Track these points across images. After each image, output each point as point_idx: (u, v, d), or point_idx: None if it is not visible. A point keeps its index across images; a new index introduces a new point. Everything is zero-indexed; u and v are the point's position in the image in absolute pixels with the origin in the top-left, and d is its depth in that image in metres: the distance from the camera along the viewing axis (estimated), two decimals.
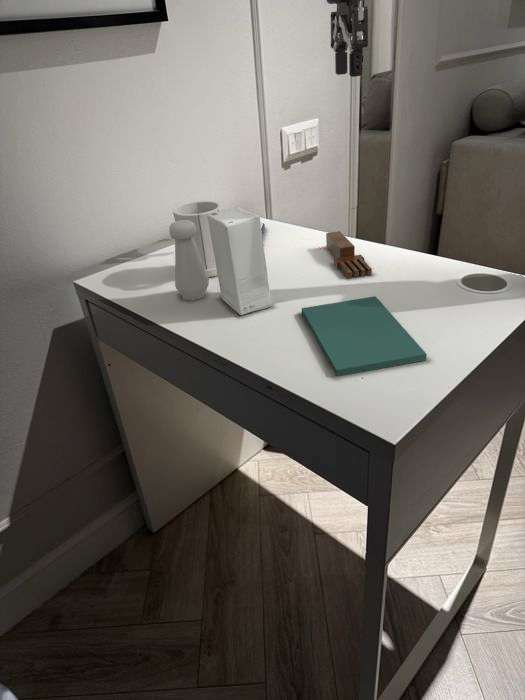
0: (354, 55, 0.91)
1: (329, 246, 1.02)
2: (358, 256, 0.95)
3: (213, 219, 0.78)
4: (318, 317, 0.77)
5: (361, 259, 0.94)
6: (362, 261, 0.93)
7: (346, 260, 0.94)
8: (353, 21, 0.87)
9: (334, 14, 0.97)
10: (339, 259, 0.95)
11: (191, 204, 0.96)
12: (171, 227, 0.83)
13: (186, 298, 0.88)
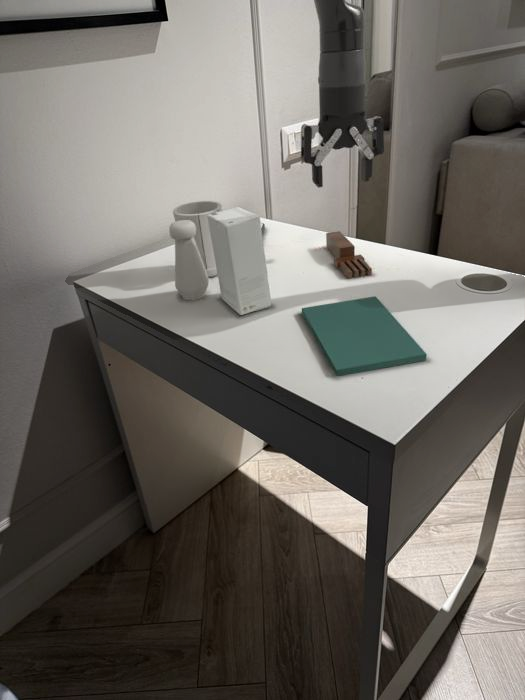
0: (312, 167, 0.91)
1: (329, 246, 1.02)
2: (358, 256, 0.95)
3: (213, 219, 0.78)
4: (318, 317, 0.77)
5: (361, 259, 0.94)
6: (362, 261, 0.93)
7: (346, 260, 0.94)
8: (303, 136, 0.89)
9: None
10: (339, 259, 0.95)
11: (191, 204, 0.96)
12: (171, 227, 0.83)
13: (186, 298, 0.88)
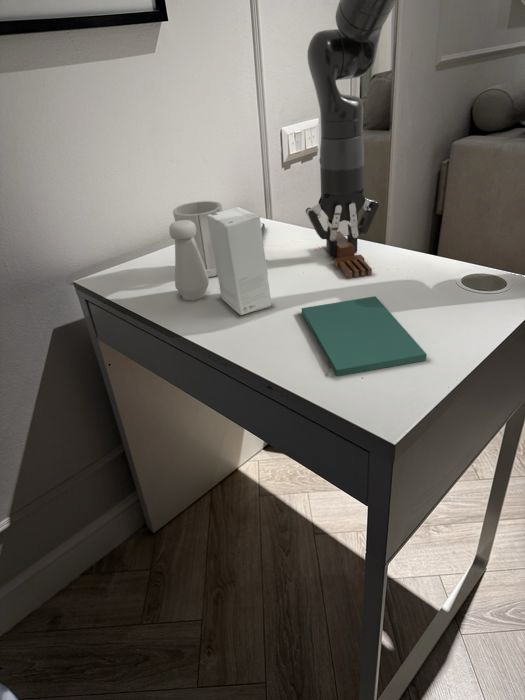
0: (327, 241, 0.97)
1: None
2: (358, 256, 0.95)
3: (213, 219, 0.78)
4: (318, 317, 0.77)
5: (361, 259, 0.94)
6: (362, 261, 0.93)
7: (346, 260, 0.94)
8: None
9: None
10: (339, 259, 0.95)
11: (191, 204, 0.96)
12: (171, 227, 0.83)
13: (186, 298, 0.88)
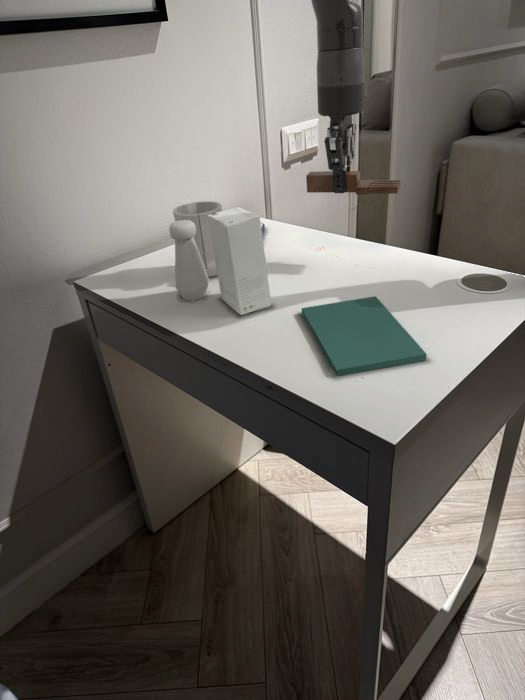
0: (335, 174, 0.88)
1: (318, 186, 0.92)
2: (364, 180, 0.92)
3: (213, 219, 0.78)
4: (318, 317, 0.77)
5: (373, 180, 0.91)
6: (379, 180, 0.91)
7: (367, 184, 0.89)
8: None
9: None
10: (361, 186, 0.89)
11: (191, 204, 0.96)
12: (171, 227, 0.83)
13: (186, 298, 0.88)
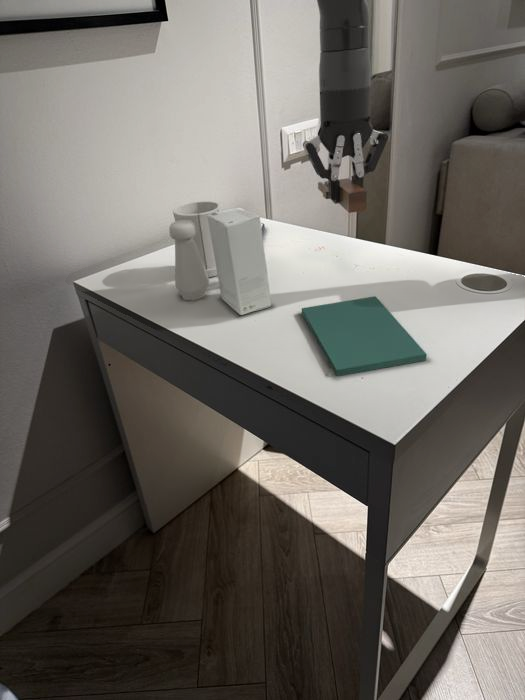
0: (362, 179, 0.84)
1: None
2: None
3: (213, 219, 0.78)
4: (318, 317, 0.77)
5: (325, 188, 0.89)
6: (325, 186, 0.90)
7: None
8: (381, 147, 0.81)
9: (312, 144, 0.79)
10: None
11: (191, 204, 0.96)
12: (171, 227, 0.83)
13: (186, 298, 0.88)
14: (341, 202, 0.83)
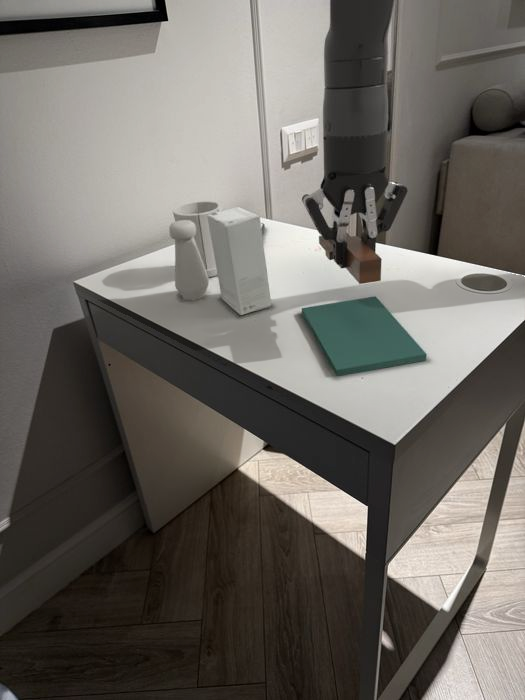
0: (374, 239, 0.68)
1: None
2: (332, 249, 0.72)
3: (213, 219, 0.78)
4: (318, 317, 0.77)
5: (328, 246, 0.74)
6: (328, 243, 0.75)
7: None
8: (399, 202, 0.66)
9: (313, 199, 0.64)
10: None
11: (191, 204, 0.96)
12: (171, 227, 0.83)
13: (186, 298, 0.88)
14: (349, 268, 0.68)
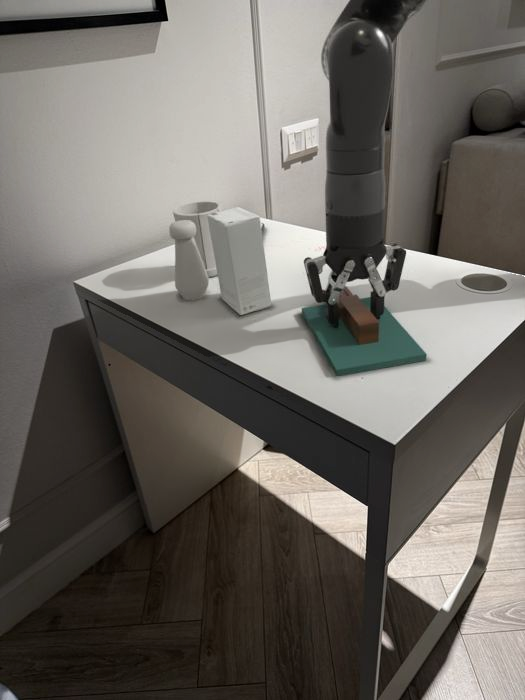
0: (383, 297, 0.73)
1: None
2: None
3: (213, 219, 0.78)
4: (318, 317, 0.77)
5: None
6: None
7: None
8: (401, 263, 0.70)
9: (315, 264, 0.68)
10: None
11: (191, 204, 0.96)
12: (171, 227, 0.83)
13: (186, 298, 0.88)
14: (349, 327, 0.73)
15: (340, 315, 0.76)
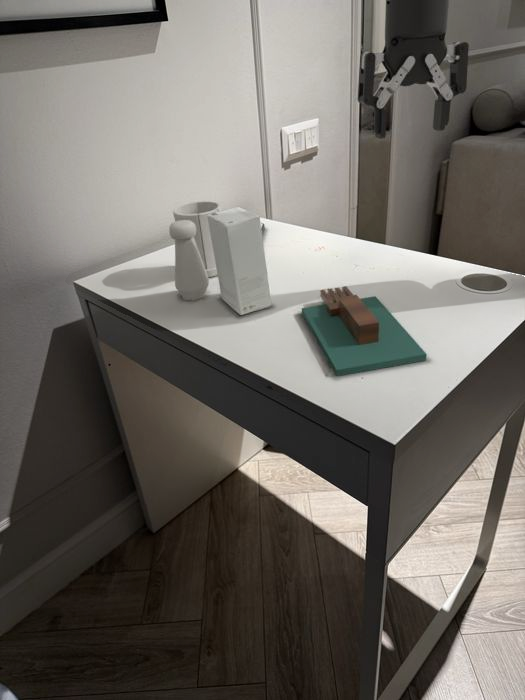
0: (449, 103, 0.70)
1: None
2: (333, 306, 0.77)
3: (213, 219, 0.78)
4: (318, 317, 0.77)
5: (329, 302, 0.78)
6: (329, 299, 0.79)
7: None
8: (464, 59, 0.67)
9: None
10: None
11: (191, 204, 0.96)
12: (171, 227, 0.83)
13: (186, 298, 0.88)
14: (349, 327, 0.73)
15: (340, 315, 0.76)
